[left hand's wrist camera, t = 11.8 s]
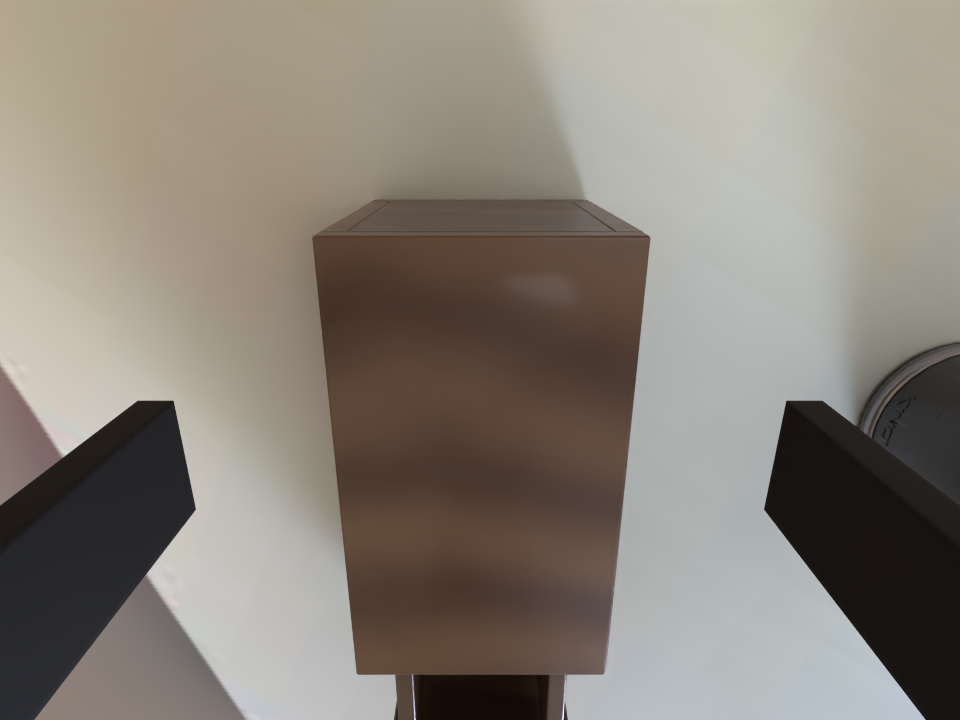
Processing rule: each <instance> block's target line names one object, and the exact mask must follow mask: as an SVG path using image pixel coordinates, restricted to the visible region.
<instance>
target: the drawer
mask: <svg viewBox="0 0 960 720" xmlns="http://www.w3.org/2000/svg"><path fill="white" fill-rule="evenodd" d="M395 677H396V691H397V703H396V710H395V716H394V720H568V718H567V711H566V704H565V692H566V678H567V675H395Z"/></svg>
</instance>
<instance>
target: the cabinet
mask: <svg viewBox="0 0 960 720" xmlns="http://www.w3.org/2000/svg"><path fill="white" fill-rule="evenodd" d="M312 239H313V248H314V258H315V268H316V278H317V288H318V298H319V307H320V317H321V327H322V337H323V347H324V356H325V366H326V376H327V386H328V396H329V405H330V415H331V425H332V435H333V445H334V454H335V464H336V474H337V484H338V494H339V503H340V513H341V523H342V533H343V543H344V552H345V562H346V572H347V582H348V592H349V601H350V611H351V621H352V631H353V641H354V650H355V660H356V670H357V674H358V675H604V674H605V672H606V662H607V653H608V643H609V633H610V624H611V614H612V604H613V595H614V585H615V575H616V565H617V556H618V546H619V536H620V527H621V517H622V507H623V498H624V488H625V478H626V469H627V459H628V449H629V439H630V430H631V420H632V410H633V401H634V391H635V381H636V372H637V362H638V352H639V343H640V333H641V323H642V313H643V304H644V294H645V284H646V275H647V265H648V255H649V246H650V236H648V235H647V234H645V233H643V232H642V231H641V230H639V229H637V228H635V227H634V226H632V225H630V224H628V223H627V222H625V221H623V220H621V219H620V218H618V217H616V216H614V215H613V214H611V213H609V212H607V211H606V210H604V209H602V208H600V207H599V206H597V205H595V204H593V203H592V202H589V201H588V200H374V201H372V202H371V203H369V204H368V205H366V206H364V207H362V208H361V209H359V210H357V211H356V212H354V213H352V214H350V215H349V216H347V217H345V218H344V219H342V220H340V221H338V222H337V223H335V224H333V225H332V226H330V227H328V228H327V229H325V230H323V231H321V232H320V233H318V234H316V235H315V236H313V238H312Z"/></svg>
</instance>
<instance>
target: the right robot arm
mask: <svg viewBox="0 0 960 720" xmlns="http://www.w3.org/2000/svg"><path fill="white" fill-rule="evenodd" d="M859 429H860V430H861V431H862V432H864V433H865V434H866V435H868V436H869V437H870V438H872V439H873V440H874V441H876V442H877V443H878V444H880V445H881V446H882V447H883V448H885V449H886V450H887V451H889V452H890V453H891V454H893V455H894V456H895V457H897V458H898V459H899V460H900V461H902V462H903V463H904V464H906V465H907V466H908V467H910V468H911V469H912V470H914V471H915V472H916V473H918V474H919V475H920V476H921V477H923V478H924V479H925V480H927V481H928V482H929V483H931V484H932V485H933V486H935V487H936V488H937V489H938V490H940V491H941V492H942V493H944V494H945V495H946V496H948V497H949V498H950V499H952V500H953V501H954V502H956V503H957V504H958V505H959V506H960V344H954V345H949V346H945V347H941V348H938V349H935V350H932V351H930V352H927V353H925V354H923V355H921V356H919V357H917V358H915V359H914V360H912V361H910V362H909V363H907V364H906V365H904V366H903V367H901V368H900V369H899V370H897V371H896V372H895V373H894V374H893V375H892V376H891V377H889V378H888V379H887V380H886V381H885V383H884V384H883V385H882V386H881V387H880V388H879V389H878V391H877V392H876V393H875V395H874V396H873V398H872V399H871V401H870V403H869V404H868V406H867V408H866V410H865V413H864V415H863V418H862V421H861V424H860V428H859Z"/></svg>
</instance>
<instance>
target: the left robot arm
mask: <svg viewBox="0 0 960 720" xmlns="http://www.w3.org/2000/svg"><path fill="white" fill-rule="evenodd" d="M195 510H196V508H195V503H194V498H193V493H192V488H191V484H190V479H189V474H188V469H187V464H186V459H185V454H184V449H183V445H182V440H181V435H180V430H179V425H178V420H177V415H176V411H175V406H174V401H137V402H136V403H134V404H133V405H132V406H130V407H129V408H128V409H126V410H125V411H124V412H122V413H121V414H120V415H119V416H117V417H116V418H115V419H113V420H112V421H111V422H109V423H108V424H107V425H105V426H104V427H103V428H101V429H100V430H99V431H98V432H96V433H95V434H94V435H92V436H91V437H90V438H88V439H87V440H86V441H84V442H83V443H82V444H80V445H79V446H78V447H77V448H75V449H74V450H73V451H71V452H70V453H69V454H67V455H66V456H65V457H63V458H62V459H61V460H60V461H58V462H57V463H56V464H54V465H53V466H52V467H50V468H49V469H48V470H46V471H45V472H44V473H43V474H41V475H40V476H39V477H37V478H36V479H35V480H33V481H32V482H31V483H29V484H28V485H27V486H25V487H24V488H23V489H22V490H20V491H19V492H18V493H16V494H15V495H14V496H12V497H11V498H10V499H8V500H7V501H6V502H4V503H3V504H2V505H1V506H0V720H34V719H35V718H36V717H37V716H38V714H39V713H40V712H41V710H42V709H43V708H44V706H45V705H46V704H47V703H48V701H49V700H50V699H51V697H52V696H53V695H54V693H55V692H56V691H57V689H58V688H59V687H60V686H61V684H62V683H63V682H64V680H65V679H66V678H67V676H68V675H69V674H70V673H71V671H72V670H73V669H74V667H75V666H76V665H77V663H78V662H79V661H80V660H81V658H82V657H83V656H84V654H85V653H86V652H87V650H88V649H89V648H90V647H91V645H92V644H93V643H94V641H95V640H96V639H97V637H98V636H99V635H100V634H101V632H102V631H103V630H104V628H105V627H106V626H107V624H108V623H109V622H110V620H111V619H112V618H113V617H114V615H115V614H116V613H117V611H118V610H119V609H120V608H121V606H122V605H123V604H124V602H125V601H126V600H127V598H128V597H129V596H130V595H131V593H132V592H133V591H134V589H135V588H136V587H137V585H138V584H139V583H140V581H141V580H142V579H143V578H144V576H145V575H146V574H147V572H148V571H149V570H150V568H151V567H152V566H153V565H154V563H155V562H156V561H157V559H158V558H159V557H160V555H161V554H162V553H163V552H164V550H165V549H166V548H167V546H168V545H169V544H170V542H171V541H172V540H173V539H174V537H175V536H176V535H177V533H178V532H179V531H180V529H181V528H182V527H183V526H184V524H185V523H186V522H187V520H188V519H189V518H190V516H191V515H192V514H193V513H194V511H195ZM764 510H765V511H766V513H767V514H768V515H769V516H770V518H771V519H772V520H773V522H774V523H775V524H776V526H777V527H778V528H779V529H780V531H781V532H782V533H783V535H784V536H785V537H786V539H787V540H788V541H789V542H790V544H791V545H792V546H793V548H794V549H795V550H796V552H797V553H798V554H799V555H800V557H801V558H802V559H803V561H804V562H805V563H806V565H807V566H808V567H809V568H810V570H811V571H812V572H813V574H814V575H815V576H816V578H817V579H818V580H819V581H820V583H821V584H822V585H823V587H824V588H825V589H826V591H827V592H828V593H829V595H830V596H831V597H832V598H833V600H834V601H835V602H836V604H837V605H838V606H839V608H840V609H841V610H842V611H843V613H844V614H845V615H846V617H847V618H848V619H849V621H850V622H851V623H852V624H853V626H854V627H855V628H856V630H857V631H858V632H859V634H860V635H861V636H862V637H863V639H864V640H865V641H866V643H867V644H868V645H869V647H870V648H871V649H872V650H873V652H874V653H875V654H876V656H877V657H878V658H879V660H880V661H881V662H882V663H883V665H884V666H885V667H886V669H887V670H888V671H889V673H890V674H891V675H892V676H893V678H894V679H895V680H896V682H897V683H898V684H899V686H900V687H901V688H902V690H903V691H904V692H905V693H906V695H907V696H908V697H909V699H910V700H911V701H912V703H913V704H914V705H915V706H916V708H917V709H918V710H919V712H920V713H921V714H922V716H923V717H924V718H925V719H926V720H960V506H959V505H958V504H957V503H956V502H954V501H953V500H952V499H950V498H949V497H948V496H946V495H945V494H944V493H942V492H941V491H940V490H938V489H937V488H936V487H935V486H933V485H932V484H931V483H929V482H928V481H927V480H925V479H924V478H923V477H921V476H920V475H919V474H918V473H916V472H915V471H914V470H912V469H911V468H910V467H908V466H907V465H906V464H904V463H903V462H902V461H900V460H899V459H898V458H897V457H895V456H894V455H893V454H891V453H890V452H889V451H887V450H886V449H885V448H883V447H882V446H881V445H880V444H878V443H877V442H876V441H874V440H873V439H872V438H870V437H869V436H868V435H866V434H865V433H864V432H862V431H861V430H860V429H859V428H857V427H856V426H855V425H853V424H852V423H851V422H849V421H848V420H847V419H845V418H844V417H843V416H841V415H840V414H839V413H838V412H836V411H835V410H834V409H832V408H831V407H830V406H828V405H827V404H826V403H824V402H823V401H786V406H785V411H784V415H783V420H782V425H781V430H780V435H779V440H778V445H777V449H776V454H775V459H774V464H773V469H772V474H771V479H770V483H769V488H768V493H767V498H766V503H765V508H764Z"/></svg>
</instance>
